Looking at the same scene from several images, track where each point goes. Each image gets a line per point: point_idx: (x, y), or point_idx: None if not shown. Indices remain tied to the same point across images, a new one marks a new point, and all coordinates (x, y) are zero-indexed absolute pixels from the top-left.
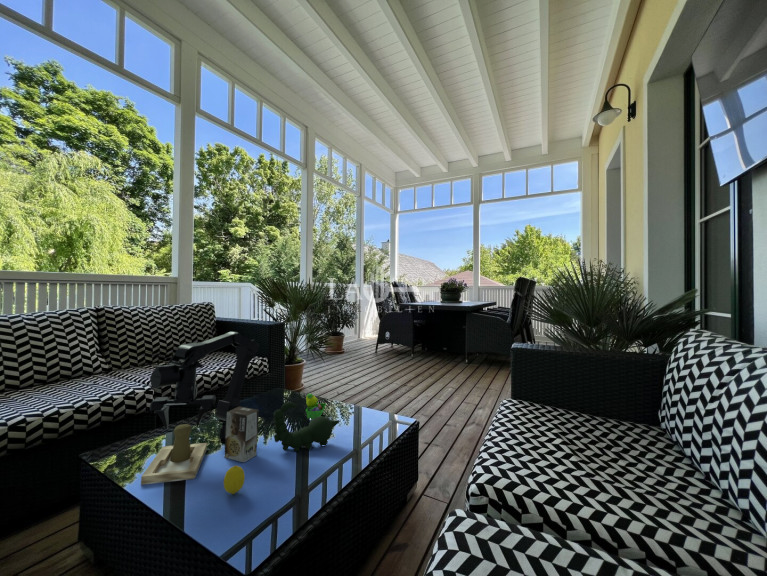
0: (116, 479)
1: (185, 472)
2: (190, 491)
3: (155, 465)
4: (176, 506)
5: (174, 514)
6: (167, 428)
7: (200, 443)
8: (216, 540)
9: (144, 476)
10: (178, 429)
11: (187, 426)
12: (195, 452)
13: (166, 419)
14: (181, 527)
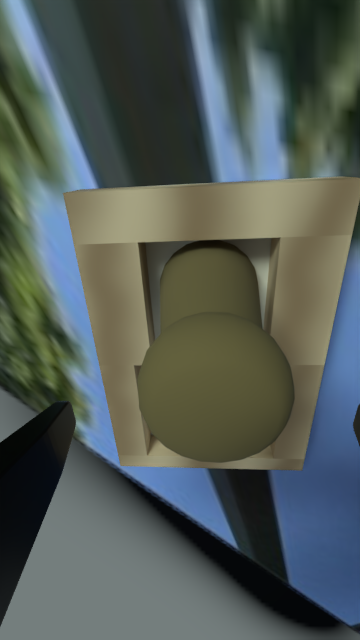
0: (26, 396)
1: (266, 467)
2: (287, 494)
3: (133, 408)
4: (260, 532)
5: (261, 550)
6: (73, 417)
7: (313, 185)
8: (348, 607)
9: (130, 464)
10: (187, 456)
11: (262, 438)
12: (289, 320)
13: (16, 549)
14: (282, 577)
